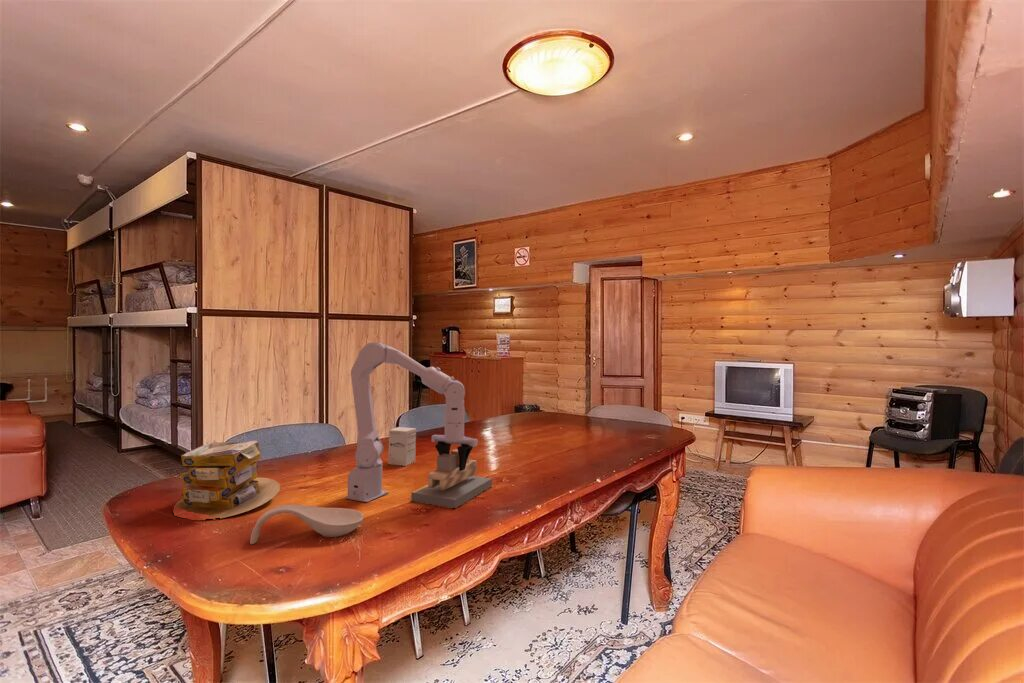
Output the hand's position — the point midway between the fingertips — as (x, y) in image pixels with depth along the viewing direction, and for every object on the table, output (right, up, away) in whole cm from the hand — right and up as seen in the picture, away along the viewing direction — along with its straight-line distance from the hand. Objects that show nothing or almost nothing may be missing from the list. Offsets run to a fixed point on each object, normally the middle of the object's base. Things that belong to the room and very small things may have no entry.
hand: (453, 468), depth 139 cm
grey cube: (-2, +1, -3) cm, 4 cm away
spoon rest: (-29, -7, -31) cm, 43 cm away
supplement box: (-23, -7, +34) cm, 42 cm away
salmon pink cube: (+1, +1, +4) cm, 4 cm away
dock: (0, -7, 0) cm, 7 cm away
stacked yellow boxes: (-60, -7, -11) cm, 61 cm away
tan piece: (0, -3, 0) cm, 3 cm away
